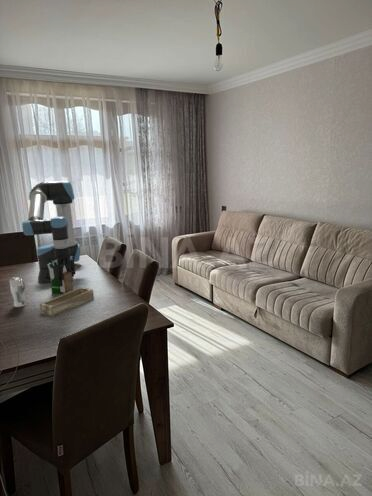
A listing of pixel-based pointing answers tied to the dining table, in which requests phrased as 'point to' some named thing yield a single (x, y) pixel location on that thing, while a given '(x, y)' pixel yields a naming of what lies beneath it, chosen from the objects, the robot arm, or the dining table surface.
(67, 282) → the walnut post
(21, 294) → the beer glass
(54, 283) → the milk carton
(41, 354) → the dining table surface
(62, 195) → the robot arm
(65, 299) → the slot well
